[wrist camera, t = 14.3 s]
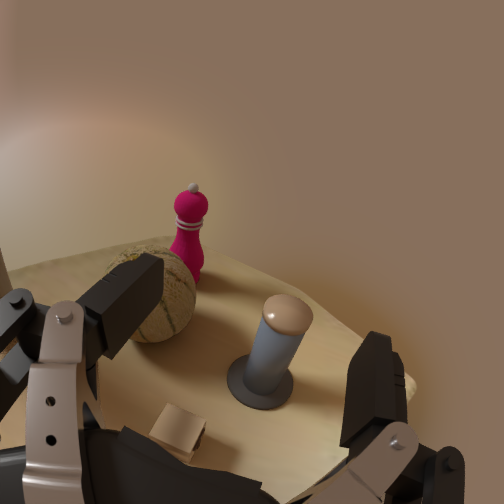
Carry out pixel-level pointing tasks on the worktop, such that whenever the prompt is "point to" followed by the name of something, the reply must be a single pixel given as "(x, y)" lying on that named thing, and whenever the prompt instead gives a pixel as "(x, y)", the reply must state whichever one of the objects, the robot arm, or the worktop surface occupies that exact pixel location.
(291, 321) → the canister
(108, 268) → the cantaloupe
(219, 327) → the worktop surface
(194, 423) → the t block
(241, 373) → the coaster
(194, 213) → the pepper mill
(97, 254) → the worktop surface
